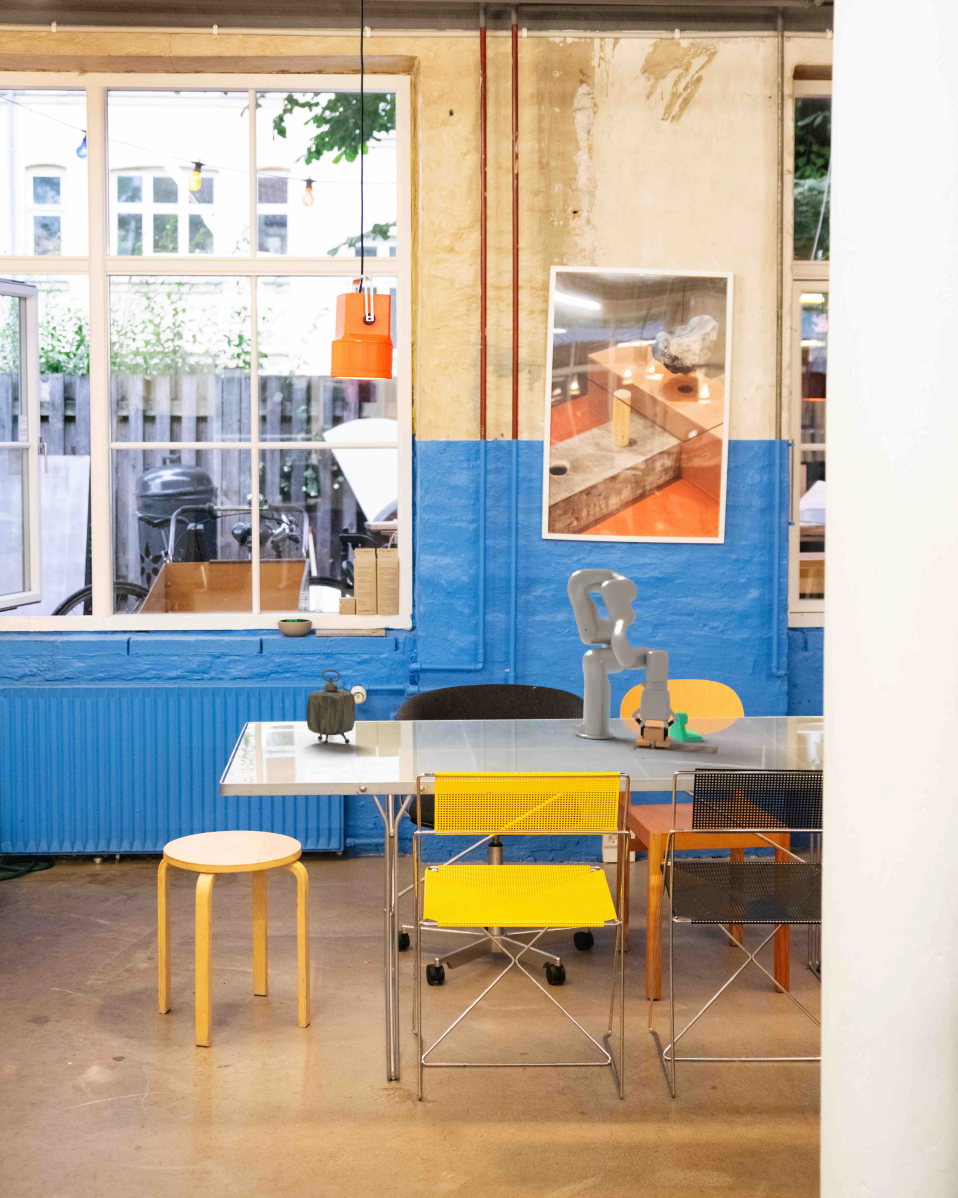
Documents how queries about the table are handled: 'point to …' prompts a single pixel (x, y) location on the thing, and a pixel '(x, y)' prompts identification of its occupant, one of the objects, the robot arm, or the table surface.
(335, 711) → the tabletop clock
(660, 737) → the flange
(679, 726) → the camera mount
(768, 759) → the table surface
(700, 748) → the board
